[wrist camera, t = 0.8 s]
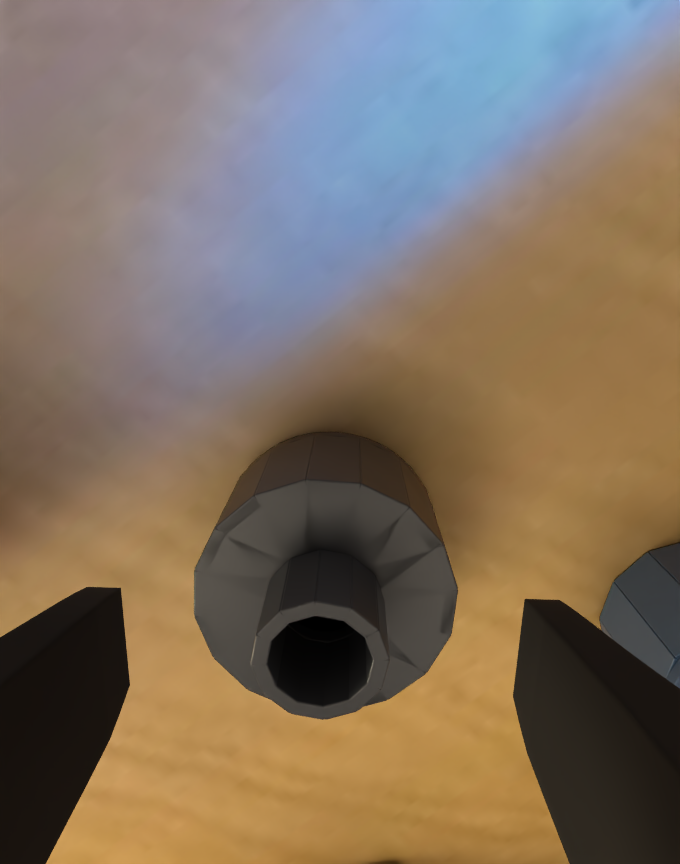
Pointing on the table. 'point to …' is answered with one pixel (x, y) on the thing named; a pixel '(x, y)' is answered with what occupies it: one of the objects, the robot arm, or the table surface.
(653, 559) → the dark grey short cylinder
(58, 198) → the table surface
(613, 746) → the robot arm
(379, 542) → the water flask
